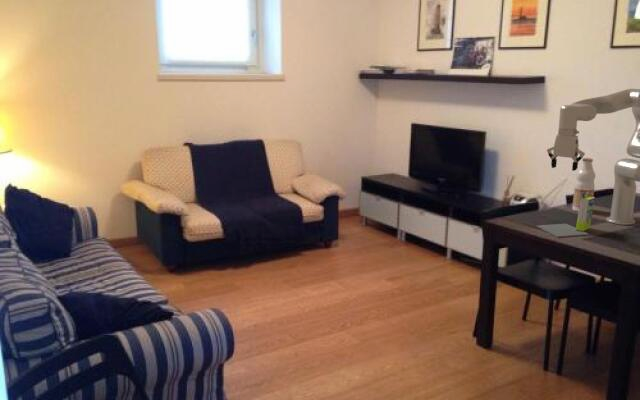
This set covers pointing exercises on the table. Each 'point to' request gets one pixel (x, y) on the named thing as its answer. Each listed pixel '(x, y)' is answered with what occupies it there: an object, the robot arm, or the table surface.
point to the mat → (562, 230)
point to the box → (585, 212)
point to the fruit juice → (584, 182)
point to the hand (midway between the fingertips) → (563, 168)
